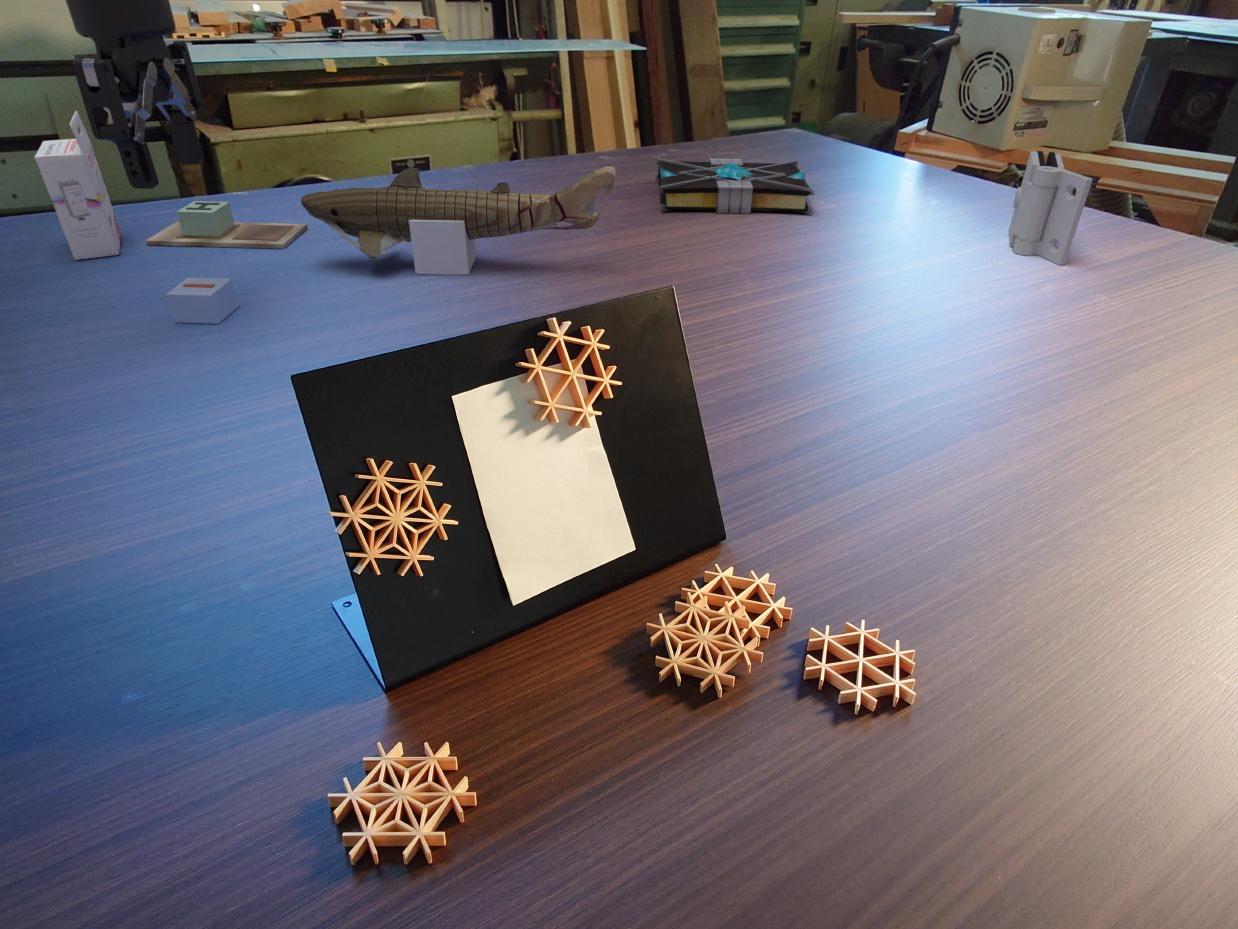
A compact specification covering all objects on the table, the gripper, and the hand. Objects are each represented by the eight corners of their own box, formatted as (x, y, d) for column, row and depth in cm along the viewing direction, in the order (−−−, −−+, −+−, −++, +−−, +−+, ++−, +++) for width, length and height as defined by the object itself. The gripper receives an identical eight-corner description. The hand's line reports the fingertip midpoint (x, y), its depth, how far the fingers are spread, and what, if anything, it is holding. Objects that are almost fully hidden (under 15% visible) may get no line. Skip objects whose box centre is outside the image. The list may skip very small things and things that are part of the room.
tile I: (174, 322, 80) (164, 292, 78) (196, 305, 83) (187, 276, 82) (219, 324, 80) (210, 294, 78) (239, 306, 83) (231, 277, 82)
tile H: (183, 235, 100) (175, 210, 98) (200, 224, 103) (193, 200, 102) (219, 236, 99) (212, 211, 98) (235, 225, 103) (228, 200, 101)
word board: (146, 245, 99) (144, 239, 98) (179, 225, 105) (177, 219, 105) (284, 248, 98) (282, 243, 98) (307, 228, 105) (306, 223, 104)
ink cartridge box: (77, 239, 100) (30, 112, 92) (122, 234, 102) (80, 109, 94) (72, 261, 94) (21, 126, 85) (120, 255, 95) (75, 123, 87)
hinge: (1066, 266, 96) (1094, 179, 91) (1018, 263, 97) (1043, 177, 91) (1034, 229, 108) (1057, 150, 102) (992, 227, 108) (1013, 149, 103)
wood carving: (615, 280, 91) (616, 178, 84) (302, 277, 90) (280, 174, 84) (615, 253, 98) (616, 157, 92) (325, 250, 98) (307, 154, 91)
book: (794, 183, 126) (798, 150, 123) (813, 216, 112) (818, 178, 109) (655, 181, 126) (656, 147, 123) (656, 213, 112) (658, 176, 109)
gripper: (113, -35, 71) (168, 156, 80) (5, -28, 60) (84, 195, 69) (196, -35, 71) (243, 157, 80) (104, -28, 59) (171, 197, 68)
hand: (170, 175), depth 74 cm, fingers open, 8 cm apart
